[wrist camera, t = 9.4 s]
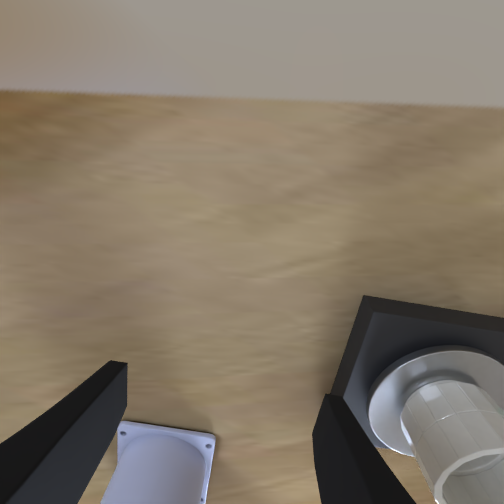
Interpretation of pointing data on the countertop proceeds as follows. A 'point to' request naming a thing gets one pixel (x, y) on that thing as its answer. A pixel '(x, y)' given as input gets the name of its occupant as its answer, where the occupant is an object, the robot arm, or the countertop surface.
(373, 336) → the scale
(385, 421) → the scale pan
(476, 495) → the cup
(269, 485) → the countertop surface
